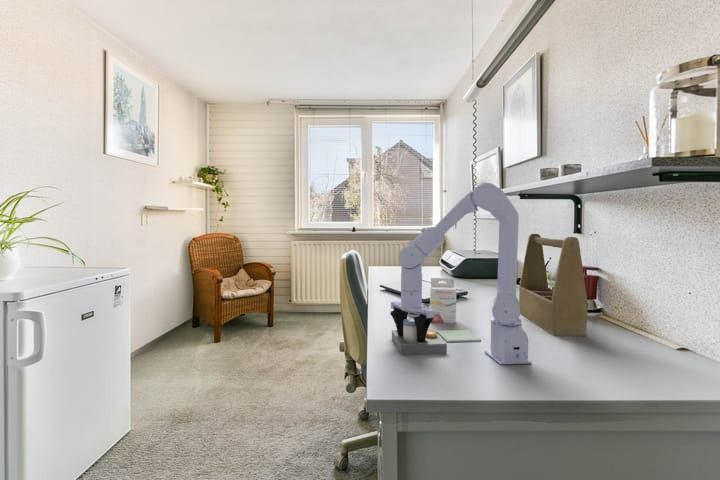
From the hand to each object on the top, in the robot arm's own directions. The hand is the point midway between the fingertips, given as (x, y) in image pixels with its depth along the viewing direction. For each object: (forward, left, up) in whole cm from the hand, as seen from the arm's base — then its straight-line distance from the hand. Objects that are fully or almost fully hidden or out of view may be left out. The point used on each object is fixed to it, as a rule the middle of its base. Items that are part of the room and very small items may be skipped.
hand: (411, 338), depth 106 cm
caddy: (+19, -52, -2) cm, 55 cm away
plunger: (0, -6, -1) cm, 6 cm away
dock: (0, -2, -2) cm, 3 cm away
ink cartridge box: (+25, -17, -2) cm, 30 cm away
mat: (+7, -16, -2) cm, 17 cm away
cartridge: (0, 0, -2) cm, 2 cm away
